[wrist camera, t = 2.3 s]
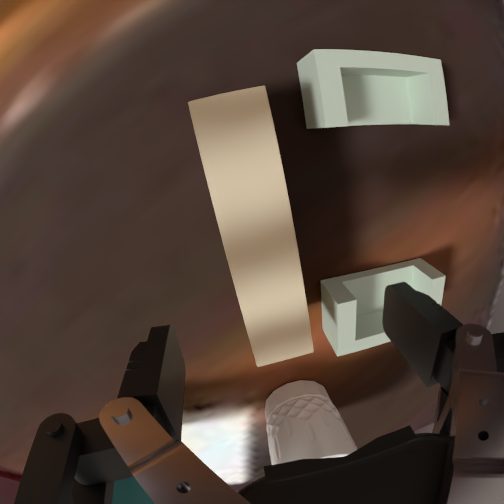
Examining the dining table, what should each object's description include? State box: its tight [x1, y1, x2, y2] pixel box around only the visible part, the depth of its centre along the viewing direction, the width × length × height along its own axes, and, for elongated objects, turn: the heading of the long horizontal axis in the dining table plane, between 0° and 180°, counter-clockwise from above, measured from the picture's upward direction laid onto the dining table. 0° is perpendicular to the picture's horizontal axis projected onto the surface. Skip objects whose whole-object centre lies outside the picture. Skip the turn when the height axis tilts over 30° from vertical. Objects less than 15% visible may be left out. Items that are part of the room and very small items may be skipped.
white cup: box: [265, 380, 358, 465], centre depth 26 cm, size 8×8×10 cm
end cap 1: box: [297, 49, 449, 129], centre depth 19 cm, size 5×10×4 cm, turn 98°
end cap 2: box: [320, 258, 445, 357], centre depth 25 cm, size 5×10×4 cm, turn 98°
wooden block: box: [188, 86, 314, 367], centre depth 20 cm, size 17×4×6 cm, turn 12°
